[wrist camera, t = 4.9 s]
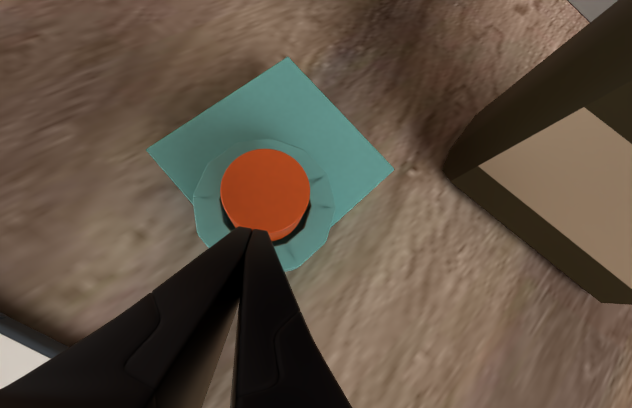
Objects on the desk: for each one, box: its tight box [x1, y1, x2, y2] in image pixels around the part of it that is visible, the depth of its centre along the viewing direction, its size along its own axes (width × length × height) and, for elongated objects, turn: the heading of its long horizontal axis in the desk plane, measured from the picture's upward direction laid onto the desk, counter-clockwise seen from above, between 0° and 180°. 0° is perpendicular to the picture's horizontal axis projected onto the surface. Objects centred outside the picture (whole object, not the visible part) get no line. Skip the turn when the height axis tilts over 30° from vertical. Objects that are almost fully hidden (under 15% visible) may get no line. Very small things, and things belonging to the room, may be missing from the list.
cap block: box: [146, 57, 394, 272], centre depth 18 cm, size 11×10×6 cm
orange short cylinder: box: [220, 149, 310, 241], centre depth 14 cm, size 4×4×3 cm
